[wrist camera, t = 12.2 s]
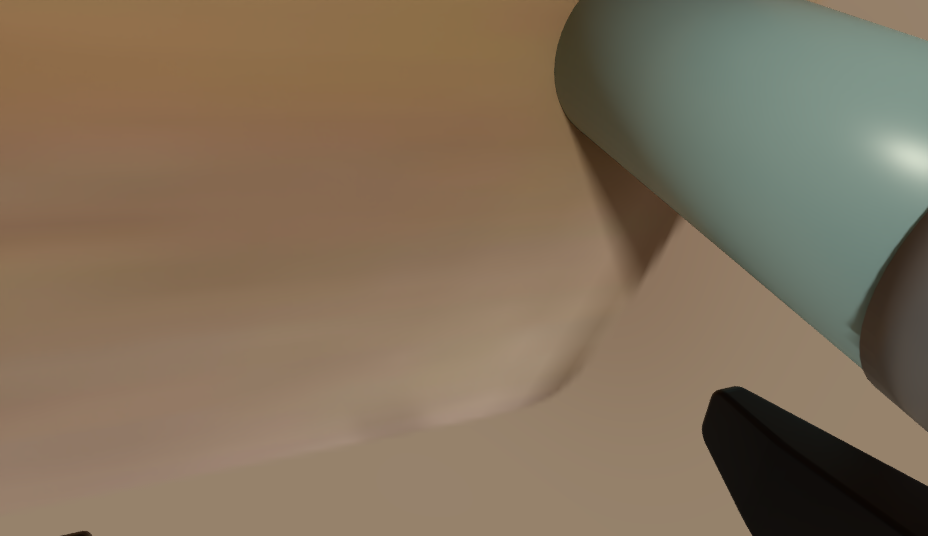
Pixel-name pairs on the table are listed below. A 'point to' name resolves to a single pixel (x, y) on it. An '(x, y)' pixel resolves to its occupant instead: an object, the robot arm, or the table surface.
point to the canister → (777, 154)
